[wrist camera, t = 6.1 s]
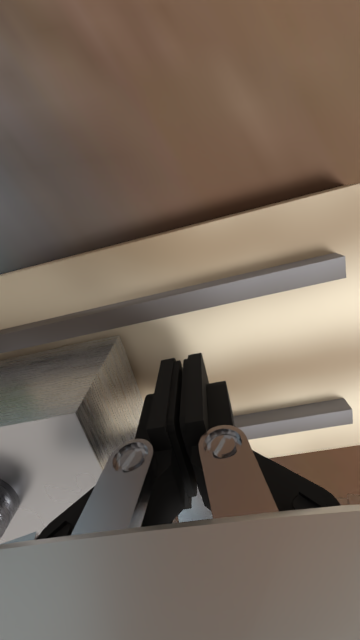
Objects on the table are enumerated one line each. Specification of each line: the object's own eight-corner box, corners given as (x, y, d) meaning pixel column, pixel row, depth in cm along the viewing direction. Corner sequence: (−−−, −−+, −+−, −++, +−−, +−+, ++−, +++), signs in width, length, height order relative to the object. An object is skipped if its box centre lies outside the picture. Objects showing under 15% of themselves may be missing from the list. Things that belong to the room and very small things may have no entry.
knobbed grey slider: (152, 425, 14) (126, 561, 9) (5, 450, 15) (-96, 584, 10) (100, 281, 12) (19, 349, 6) (-72, 322, 13) (-266, 412, 7)
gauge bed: (355, 426, 16) (475, 595, 9) (-66, 490, 19) (-206, 647, 12) (345, 184, 11) (559, 163, 5) (-194, 324, 15) (-513, 426, 8)
